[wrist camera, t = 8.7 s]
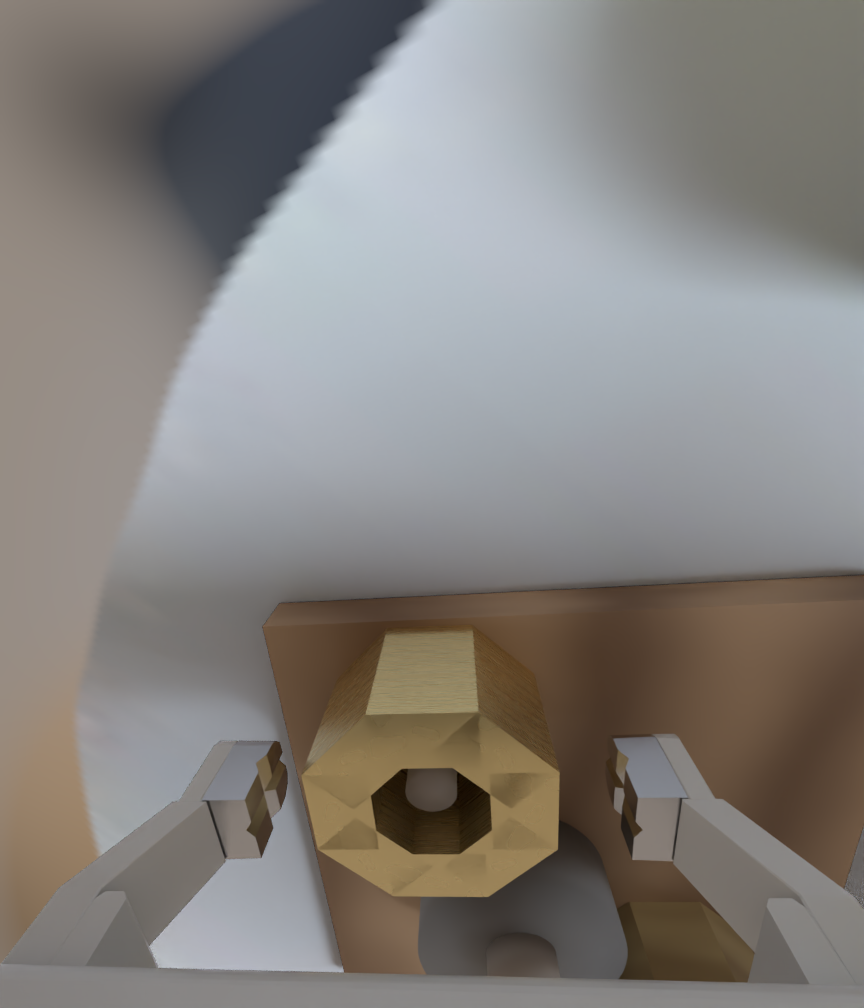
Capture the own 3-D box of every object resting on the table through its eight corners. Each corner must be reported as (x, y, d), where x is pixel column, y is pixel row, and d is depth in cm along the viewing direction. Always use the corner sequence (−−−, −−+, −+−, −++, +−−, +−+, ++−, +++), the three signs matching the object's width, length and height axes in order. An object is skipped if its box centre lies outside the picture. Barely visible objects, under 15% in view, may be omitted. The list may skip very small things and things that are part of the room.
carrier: (887, 573, 12) (1114, 683, 8) (778, 978, 17) (877, 1165, 13) (279, 603, 13) (200, 711, 9) (359, 972, 18) (334, 1141, 14)
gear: (533, 622, 11) (561, 710, 8) (534, 780, 13) (557, 897, 10) (328, 630, 12) (287, 716, 9) (355, 782, 13) (328, 896, 11)
